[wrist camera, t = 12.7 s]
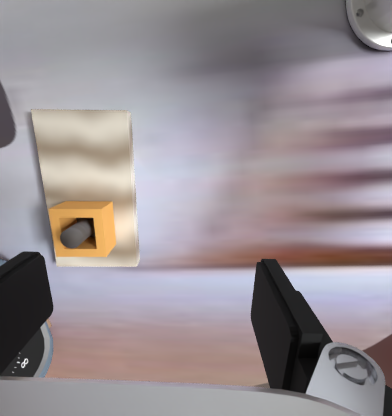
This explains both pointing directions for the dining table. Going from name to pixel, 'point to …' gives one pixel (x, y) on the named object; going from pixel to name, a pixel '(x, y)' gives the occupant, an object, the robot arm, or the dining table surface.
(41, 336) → the alarm clock
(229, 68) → the dining table surface
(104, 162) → the peg board
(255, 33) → the dining table surface
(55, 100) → the dining table surface
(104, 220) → the orange square frame
